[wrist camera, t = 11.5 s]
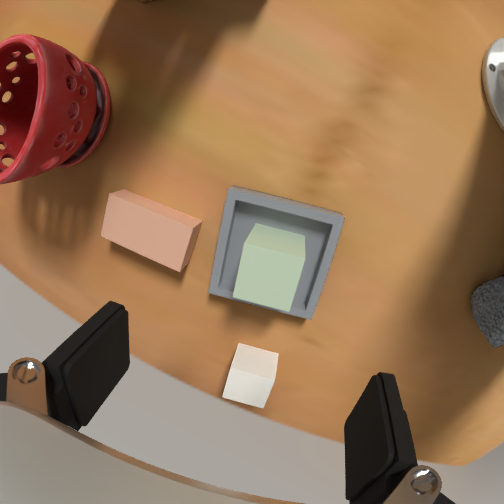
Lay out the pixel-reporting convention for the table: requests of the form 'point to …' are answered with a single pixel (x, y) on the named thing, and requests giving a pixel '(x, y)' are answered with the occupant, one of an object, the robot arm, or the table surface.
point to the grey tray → (285, 218)
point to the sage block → (270, 267)
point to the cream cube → (251, 375)
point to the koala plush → (490, 310)
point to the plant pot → (48, 107)
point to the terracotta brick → (150, 229)
